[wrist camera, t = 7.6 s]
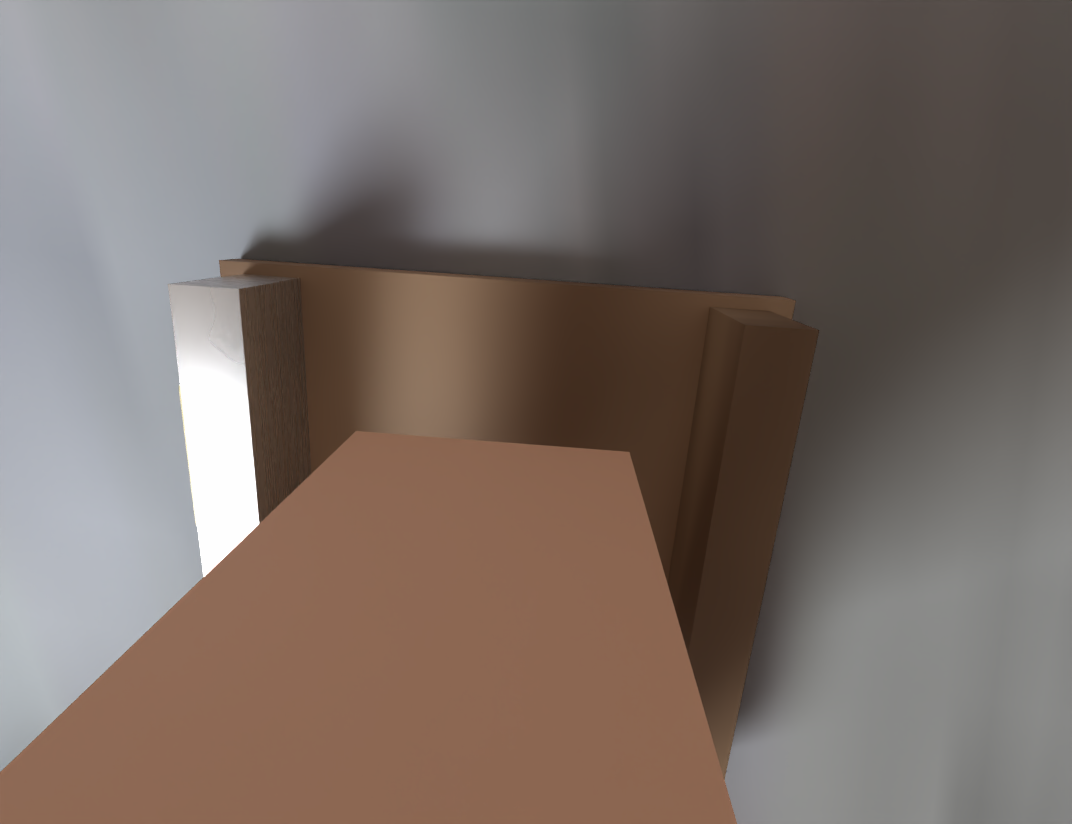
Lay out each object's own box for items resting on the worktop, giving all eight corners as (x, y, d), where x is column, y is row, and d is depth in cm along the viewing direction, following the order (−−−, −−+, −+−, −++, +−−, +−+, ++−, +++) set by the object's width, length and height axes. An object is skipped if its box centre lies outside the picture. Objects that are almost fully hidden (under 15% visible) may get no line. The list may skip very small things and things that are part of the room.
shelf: (782, 296, 10) (851, 317, 8) (693, 773, 14) (721, 893, 11) (238, 258, 11) (137, 267, 8) (278, 735, 14) (216, 846, 11)
